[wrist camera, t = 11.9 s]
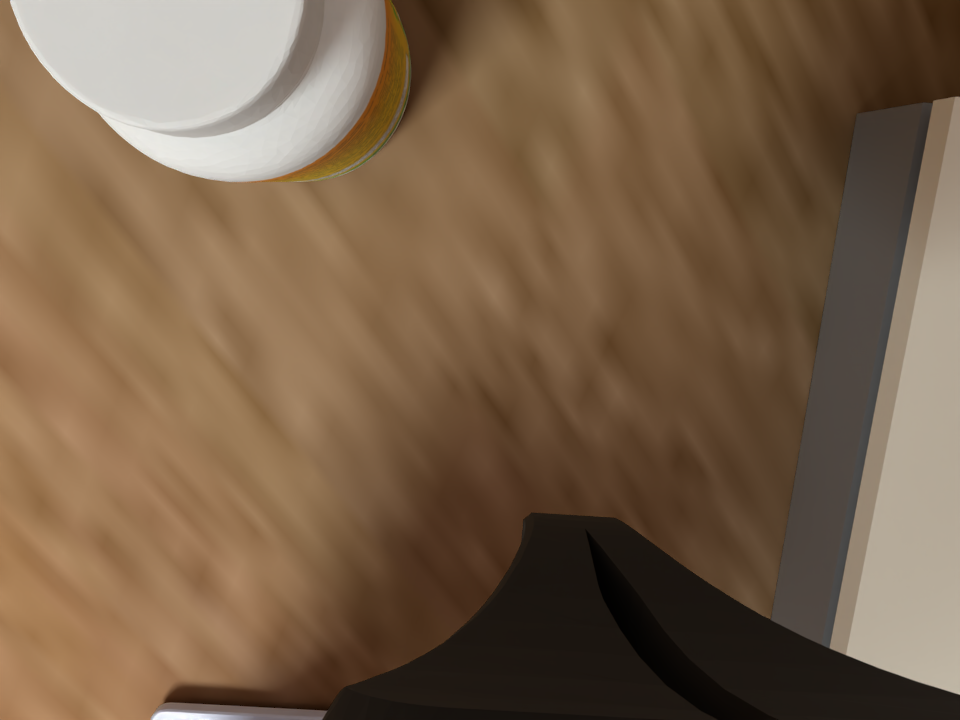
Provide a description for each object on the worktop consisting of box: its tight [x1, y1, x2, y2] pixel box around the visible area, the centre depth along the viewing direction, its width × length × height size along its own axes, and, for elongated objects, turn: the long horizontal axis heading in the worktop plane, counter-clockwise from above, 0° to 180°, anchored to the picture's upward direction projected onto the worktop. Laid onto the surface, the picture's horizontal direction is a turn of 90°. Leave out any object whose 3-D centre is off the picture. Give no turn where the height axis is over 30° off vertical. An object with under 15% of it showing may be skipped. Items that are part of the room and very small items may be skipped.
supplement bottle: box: [10, 0, 411, 182], centre depth 15 cm, size 5×5×10 cm
